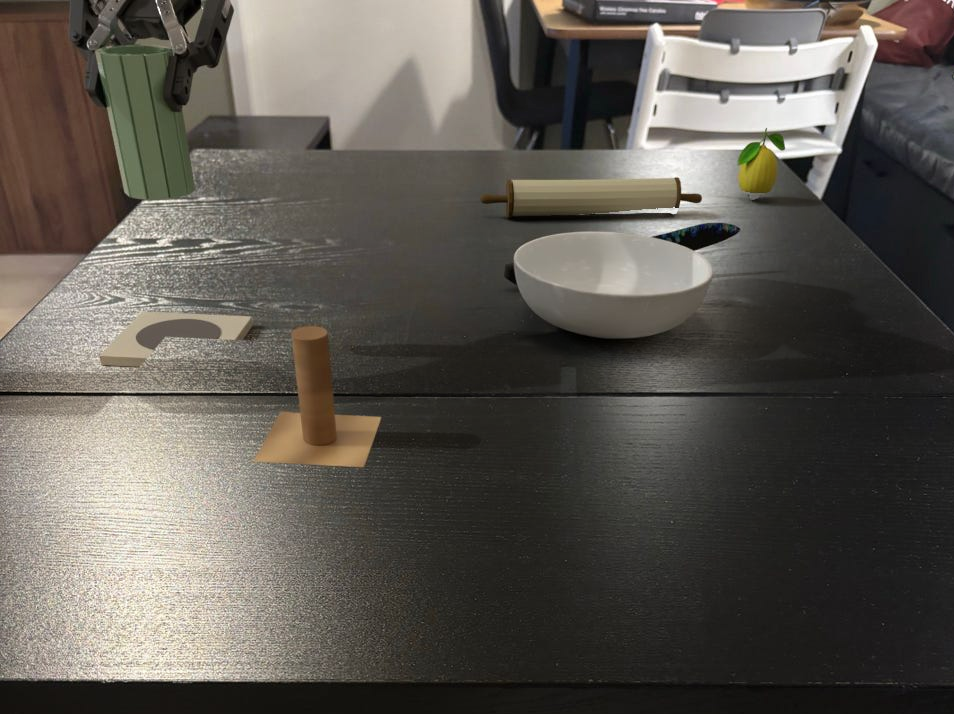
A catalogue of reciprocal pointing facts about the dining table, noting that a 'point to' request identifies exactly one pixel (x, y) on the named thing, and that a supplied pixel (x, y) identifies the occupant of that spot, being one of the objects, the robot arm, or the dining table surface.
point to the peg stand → (317, 414)
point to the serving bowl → (611, 282)
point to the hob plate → (170, 334)
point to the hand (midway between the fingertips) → (134, 103)
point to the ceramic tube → (145, 122)
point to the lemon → (759, 165)
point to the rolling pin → (589, 196)
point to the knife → (678, 239)
